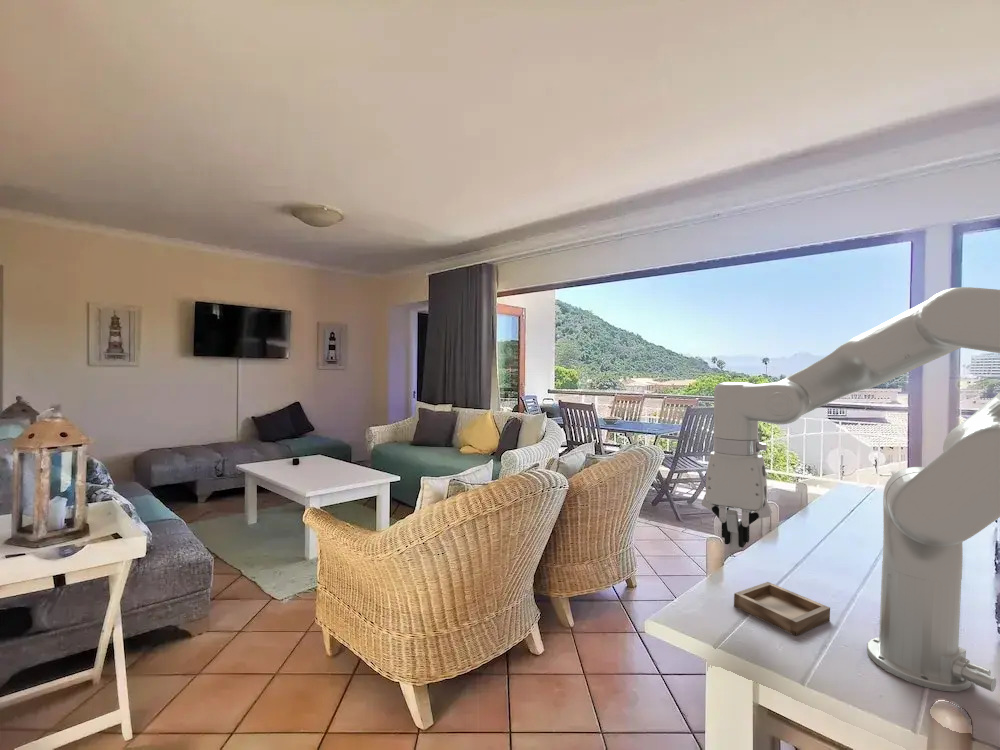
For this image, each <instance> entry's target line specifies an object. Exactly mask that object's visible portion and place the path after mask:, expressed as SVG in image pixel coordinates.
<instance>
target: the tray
mask: <svg viewBox="0 0 1000 750" xmlns="http://www.w3.org/2000/svg"><path fill="white" fill-rule="evenodd" d="M733 595H734V597H733V607H736V608H738V609H740V610H741V611H743V612H745V613H748V614H750V615H751V616H754V617H757V618H758V619H760V620H762V621H764V622H766V623H768V624H770V625H772V626H774V627H776V628H778V629H780V630H782V631H784V632H787V633H789V634H791V635H792V636H794V637H798V636H800V635H801V634H804V633H806V632H808V631H809V632H810V630H814V629H815V628H817V627H819V626H822V625H825V624H826V623H828V622H830V621H831V618H830V617H831V607H829V606H827V605H826V604H823V603H820V602H817V601H815V600H812V599H810V598H808V597H805V596H804V595H800V594H798V593H796V592H794V591H791V590H789V589H787V588H784V587H781V586H779V585H777V584H775V583H771V582H769V581H766V582H763V583H760V584H757V585H753V586H752V587H748V588H746V589H743V590H740V591H738V592H734V593H733Z"/></svg>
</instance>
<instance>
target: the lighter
mask: <svg viewBox="0 0 1000 750" xmlns="http://www.w3.org/2000/svg"><path fill="white" fill-rule="evenodd" d="M726 521H727V528H728V531H729V532H730V543H729V550H733V551H735V552H736V551H737V552H740V551H741V550H742V547H740V546H739V525H740V524H741V521H742V518H739V514H738V511H737V510H736V509H735V510H734V509H733V510H732V509H730V508H729V509H728V510H727V512H726Z"/></svg>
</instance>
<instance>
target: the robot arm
mask: <svg viewBox="0 0 1000 750" xmlns="http://www.w3.org/2000/svg"><path fill="white" fill-rule="evenodd" d="M961 348H963V349H967V350H975V351H981V352H989V353H996V354H1000V289H997V288H996V289H995V288H984V287H983V288H982V287H970V286H969V287H968V286H966V287H964V286H963V287H951V288H948V289H947V288H946V289H945V290H941V291H940V292H938V293H935V294H934V295H933V296H931V297H930V298H929V299H927V300H925V301H923V302H921V303H920V304H917V305H916V306H914V307H912V308H910V309H907V310H906V311H904V312H902V313H900V314H898V315H896V316H894V317H893V318H891V319H889V320H887V321H885V322H882V323H881V324H879V325H877V326H875V327H873V328H871V329H869V330H867V331H865V332H862V333H861V334H859V335H857V336H855V337H853V338H850V339H849V340H848V341H846V342H844V343H842V344H841V345H840V346H838V347H837V348H836V349H835V350H834V351H832V352H831V353H830V354H828V355H826V356H825V357H823V358H821V359H820V360H818V361H816V362H814V363H812V364H810V365H809V366H807V367H804V368H803V369H801V370H799V371H797V372H794V373H793V374H791V375H789V376H787V377H785V378H783V379H781V380H778V381H776V382H769V383H758V384H755V383H752V382H745V381H743V382H739V381H737V382H736V381H729V382H728V381H727V382H725V381H724V382H720V383H717V384H716V386H715V387H714V389H713V390H714V392H713V410H714V411H713V424H714V425H713V436H714V437H713V451H711V452H710V454H709V459H708V464H707V471H706V479H705V495H704V497H703V499H702V501H701V503H700V504H701V506H703V507H704V508H706V509H708V510H710V511H711V512H713V513H714V515H715V516H716V517H717V518H718V519H719V522H720V523H721V538H723V539H724V541H723V543H724V545H730V532H729V531H728V528H727V521H726V512H727V510H728V509H729V510H730V508H731V509H735V510H736V509H737V510H741V524H740V525H739V546H740V547H742V548H744V547H745V546H746V544H749V542H750V525H751V524H752V523H754V522H756V521H757V520H759V519H766V518H769V517H771V516H772V514H773V511H772V509H771V507H770V505H769V502H768V486H767V485H768V484H767V483H768V482H767V472H766V465H765V460H764V457H763V455H761V454H759V453H760V452H763V451H764V452H765V451H768V446H767V443H763V442H761V441H760V439H759V422H761V423H767V424H773V425H789V424H793V423H794V422H796V421H797V420H799V419H800V418H801V417H802V416H804V415H806V414H808V413H809V412H812V411H814V410H816V409H818V408H820V407H822V406H824V405H827V404H829V403H832V402H835V401H836V400H838V399H841V398H842V397H845V396H847V395H851V394H853V393H855V392H856V393H857V392H860V391H865V390H868V389H872V388H875V387H878V386H880V385H882V384H885V383H887V382H889V381H891V380H893V379H896V378H898V377H900V376H902V375H905V374H907V373H909V372H911V371H913V370H915V369H917V368H920V367H922V366H924V365H926V364H928V363H930V362H933V361H935V360H937V359H939V358H941V357H944V356H946V355H949V354H951V353H953V352H955V351H957V350H959V349H961ZM882 497H883V499H882V504H883V505H882V507H883V508H882V512H883V514H882V515H883V521H882V522H883V524H882V525H883V527H882V529H883V532H882V534H883V536H882V537H883V540H882V562H881V583H880V584H881V585H880V589H881V590H880V606H879V607H880V609H879V610H880V611H879V630H878V633H879V634H878V637H874V638H871V639H869V640H868V641H867V643H866V652H867V655H868V657H870V659H871V660H872V661H873V662H874V663H875V664H877V665H878V666H879V667H880V668H881V669H883V670H885V671H886V672H888V673H889V674H892V675H894V676H896V677H897V678H900V679H902V680H905V682H909V683H912V684H915V685H917V686H921V687H924V688H928V689H933V690H937V691H941V692H942V691H944V692H961V691H965V690H967V689H969V688H970V687H971V686H972V683H973V684H975V685H976V686H979V687H981V688H983V689H985V690H987V691H990V692H994V691H995V689H996V686H997V679H996V677H994V676H992V675H991V670H990V669H988V668H985V667H984V666H981V665H977V664H975V663H973V662H971V661H970V660H969V659H968V658H967V649H966V648H963V647H961V646H959V645H960V644H959V643H960V641H959V640H960V621H961V620H960V618H961V601H962V600H961V598H962V596H961V595H962V581H963V557H964V555H963V550H964V549H963V542H965V541H967V540H968V539H971V538H972V537H974V536H975V535H977V534H979V533H980V532H981V531H983V530H984V529H985V528H987V527H989V526H990V525H991V524H993V523H994V522H995V521H997V520H998V519H999V518H1000V391H998V393H997V394H996V395H995V396H993V398H991V399H990V400H989V401H987V402H986V403H985V404H983V405H982V407H980V408H979V409H978V410H976V411H975V412H974V413H973V414H972V415H970V416H969V417H968V418H966V419H965V420H964V421H962V422H961V423H960V424H959V425H957V426H956V427H954V428H952V429H951V431H950V432H949V433H948V434H947V435H946V436H945V438H944V441H943V445H942V453H941V454H939V456H937V457H936V458H935V459H934V460H932V461H931V462H930V463H929V464H928V465H927V466H925V467H924V466H912V467H906V468H903V469H900V470H899V471H897V472H895V473H893V474H892V476H890V477H889V479H888V480H887V481H886V483H885V486H884V489H883V496H882ZM742 548H741V549H742Z"/></svg>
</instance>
